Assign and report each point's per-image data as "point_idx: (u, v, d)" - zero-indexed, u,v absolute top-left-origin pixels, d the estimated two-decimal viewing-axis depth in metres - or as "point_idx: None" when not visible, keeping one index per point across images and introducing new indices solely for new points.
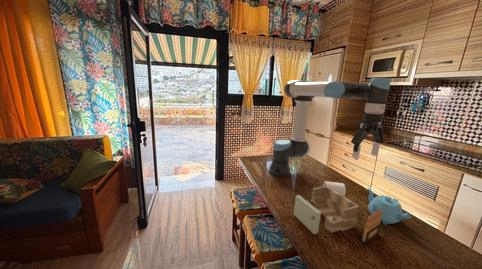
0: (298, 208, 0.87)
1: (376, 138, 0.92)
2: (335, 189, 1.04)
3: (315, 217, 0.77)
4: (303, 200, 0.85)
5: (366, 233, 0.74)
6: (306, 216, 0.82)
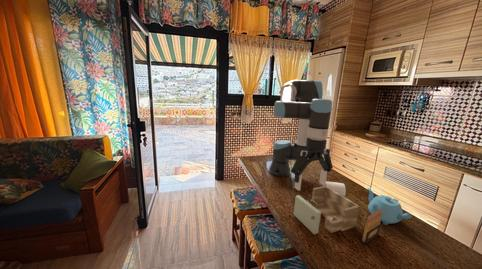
0: (298, 208, 0.87)
1: (323, 165, 0.80)
2: (335, 189, 1.04)
3: (315, 217, 0.77)
4: (303, 200, 0.85)
5: (366, 233, 0.74)
6: (306, 216, 0.82)
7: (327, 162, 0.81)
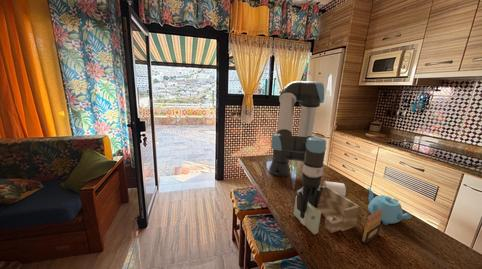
0: None
1: (310, 203, 0.83)
2: (335, 189, 1.04)
3: (315, 217, 0.77)
4: None
5: (366, 233, 0.74)
6: None
7: (315, 200, 0.84)
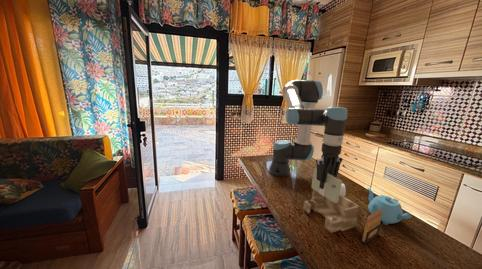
0: (316, 180, 0.88)
1: (330, 173, 0.83)
2: None
3: (335, 186, 0.78)
4: None
5: (366, 233, 0.74)
6: None
7: (334, 171, 0.84)
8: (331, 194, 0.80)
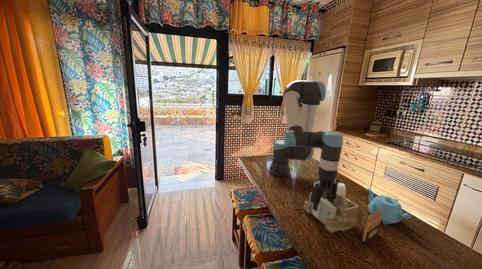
0: (312, 204, 0.91)
1: (328, 195, 0.86)
2: None
3: (330, 212, 0.81)
4: None
5: (366, 233, 0.74)
6: (321, 211, 0.86)
7: (333, 192, 0.87)
8: None
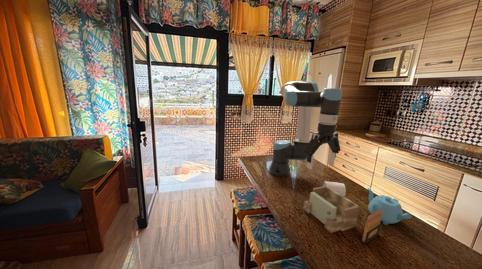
0: (312, 204, 0.91)
1: (332, 148, 0.91)
2: (335, 189, 1.04)
3: (331, 212, 0.81)
4: (318, 196, 0.88)
5: (366, 233, 0.74)
6: (321, 211, 0.86)
7: (335, 145, 0.91)
8: None
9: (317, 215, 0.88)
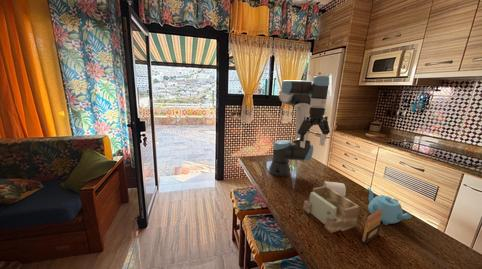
0: (312, 204, 0.91)
1: (322, 130, 1.03)
2: (335, 189, 1.04)
3: (331, 212, 0.81)
4: (318, 196, 0.88)
5: (366, 233, 0.74)
6: (321, 211, 0.86)
7: (325, 127, 1.03)
8: None
9: (317, 215, 0.88)
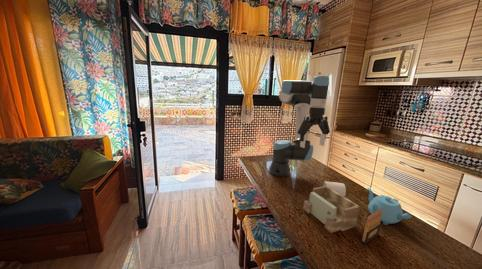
0: (312, 204, 0.91)
1: (322, 130, 1.03)
2: (335, 189, 1.04)
3: (331, 212, 0.81)
4: (318, 196, 0.88)
5: (366, 233, 0.74)
6: (321, 211, 0.86)
7: (325, 127, 1.03)
8: None
9: (317, 215, 0.88)
